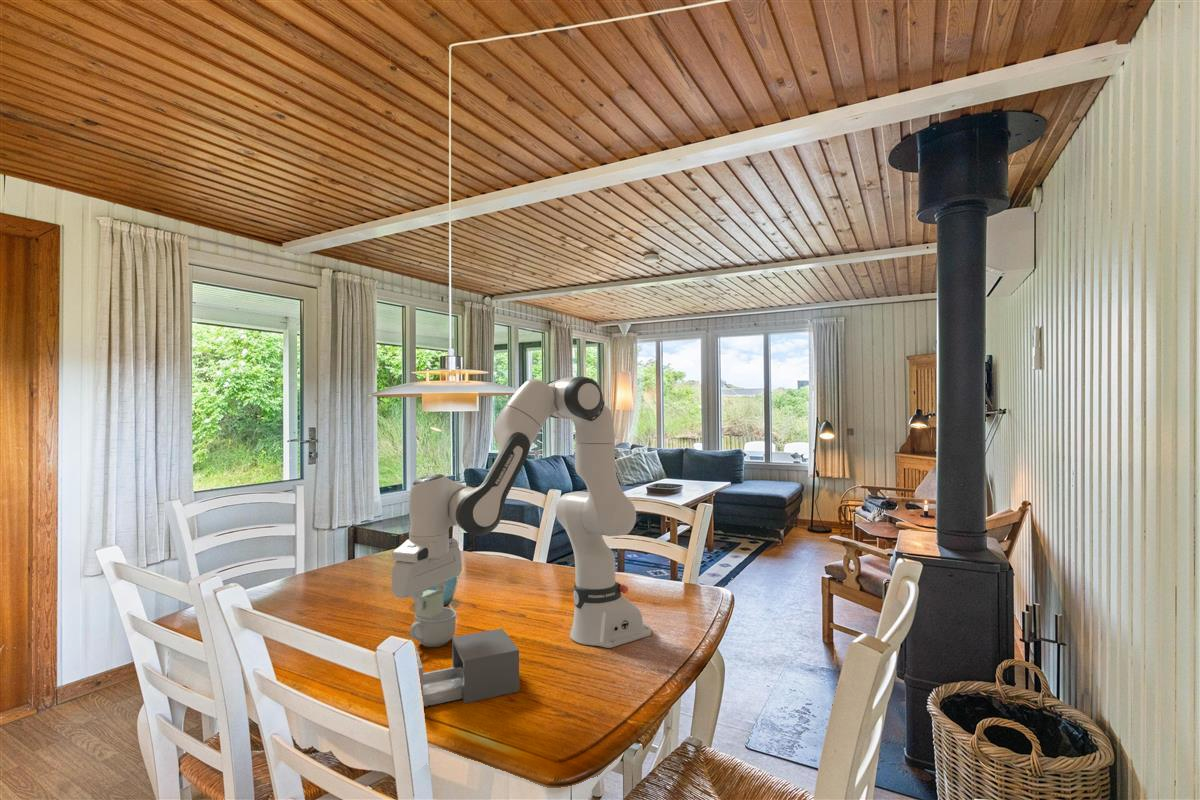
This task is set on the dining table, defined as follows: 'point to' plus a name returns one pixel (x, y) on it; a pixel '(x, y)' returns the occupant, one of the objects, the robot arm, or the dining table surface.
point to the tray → (440, 684)
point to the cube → (432, 603)
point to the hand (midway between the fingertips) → (429, 605)
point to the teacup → (434, 628)
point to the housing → (486, 664)
